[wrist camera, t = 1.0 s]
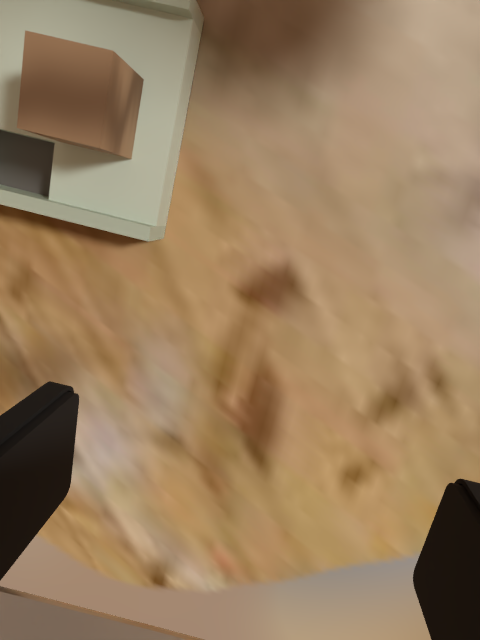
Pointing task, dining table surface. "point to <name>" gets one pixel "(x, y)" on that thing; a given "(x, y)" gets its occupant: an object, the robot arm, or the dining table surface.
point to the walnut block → (78, 95)
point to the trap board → (152, 125)
